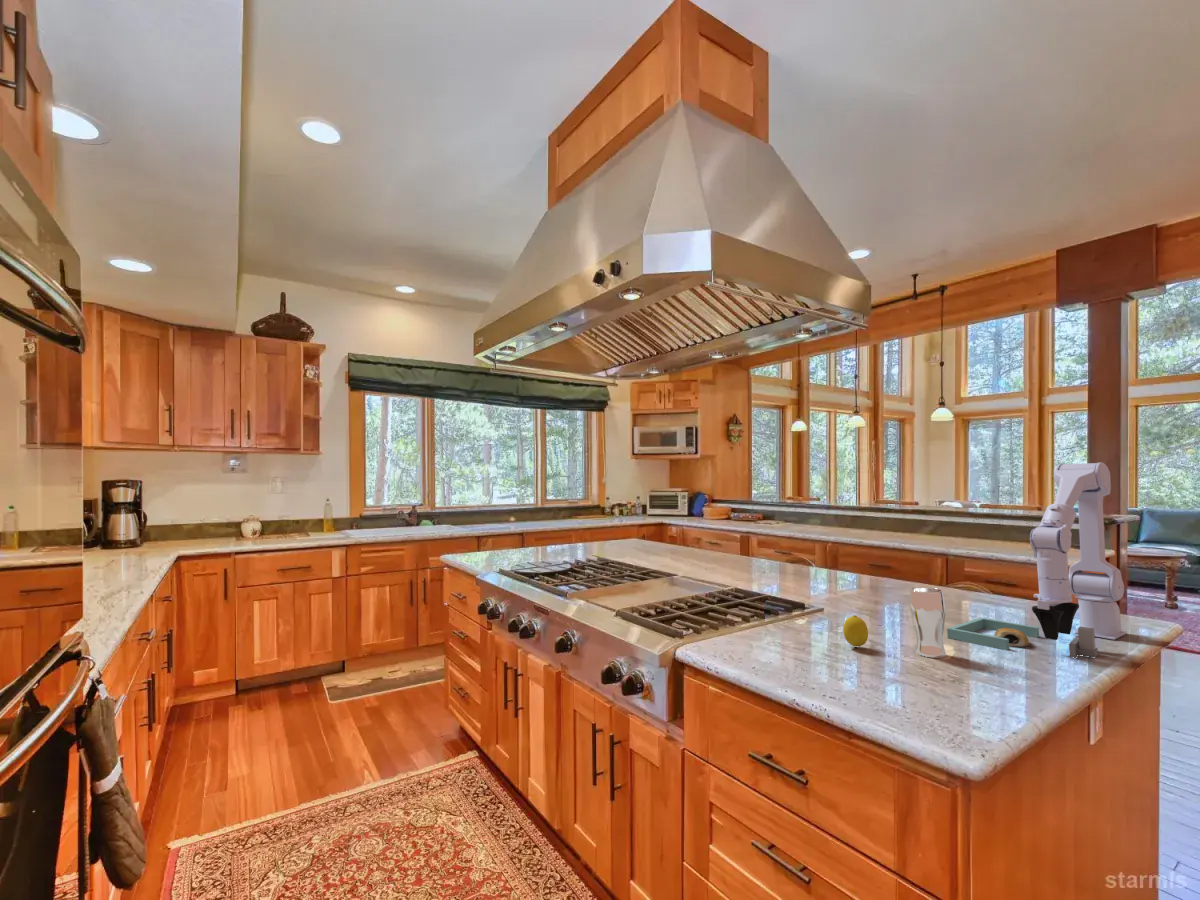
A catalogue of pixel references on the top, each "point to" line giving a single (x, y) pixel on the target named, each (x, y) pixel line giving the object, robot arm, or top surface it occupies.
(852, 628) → the lemon
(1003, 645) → the bay
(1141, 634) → the top surface
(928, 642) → the beer glass
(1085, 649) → the pusher
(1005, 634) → the pastry
